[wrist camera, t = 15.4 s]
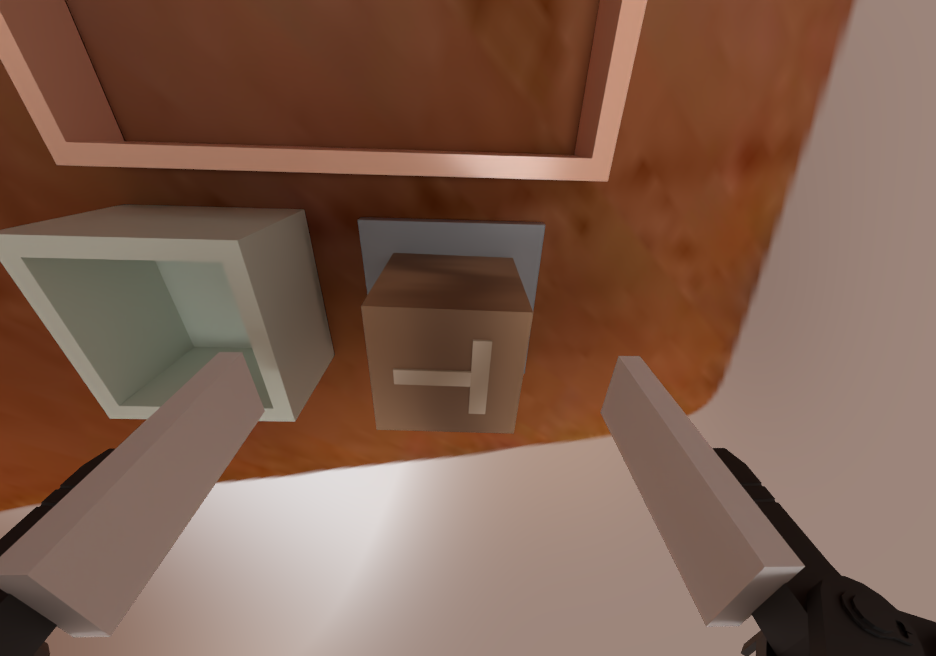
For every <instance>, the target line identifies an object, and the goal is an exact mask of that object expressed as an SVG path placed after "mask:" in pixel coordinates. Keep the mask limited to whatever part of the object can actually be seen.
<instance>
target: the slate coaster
mask: <svg viewBox="0 0 936 656" xmlns="http://www.w3.org/2000/svg"><path fill="white" fill-rule="evenodd" d="M358 228H359V235H360V243H361V250H362V257H363V265H364V272H365V280H366V287H367V295H368V294H369V292H370V290H371V289H372V287H373V285H374V284H375V282H376V281H377V279H378V277H379V276H380V274H381V272H382V271H383V269H384V267H385V266H386V264H387V263H388V261H389V259H390V258H391V256H392V254H393V253H411V254H434V255H457V256H480V257H503V258H513V260H514V263H515V265H516V268H517V271H518V273H519V276H520V279H521V281H522V284H523V287H524V289H525V292H526V295H527V297H528V300H529V303H530V305H531V308H532V311H533V309H534V302H535V295H536V288H537V281H538V274H539V267H540V260H541V252H542V245H543V238H544V231H545V224H544V223H543V222H518V221H481V220H445V219H408V218H372V217H361V218H359V219H358ZM530 331H531V330H530ZM529 338H530V336H529ZM528 345H529V342H528ZM527 352H528V348H527ZM526 359H527V355H526ZM525 366H526V361H525ZM524 373H525V367H524ZM524 373H523V374H524Z"/></svg>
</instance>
